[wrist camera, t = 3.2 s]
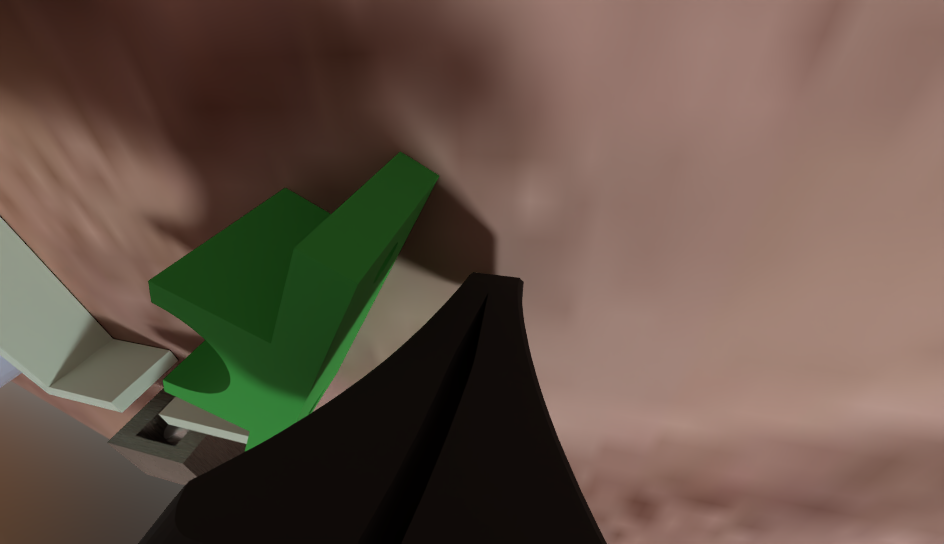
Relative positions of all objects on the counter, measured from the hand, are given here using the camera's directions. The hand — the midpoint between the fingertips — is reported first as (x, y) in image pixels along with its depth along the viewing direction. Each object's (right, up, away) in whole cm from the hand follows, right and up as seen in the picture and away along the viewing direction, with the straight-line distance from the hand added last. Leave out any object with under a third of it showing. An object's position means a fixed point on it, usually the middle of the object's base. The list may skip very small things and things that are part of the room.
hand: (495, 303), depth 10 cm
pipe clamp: (-5, +1, +3) cm, 6 cm away
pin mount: (-14, -6, +11) cm, 19 cm away
